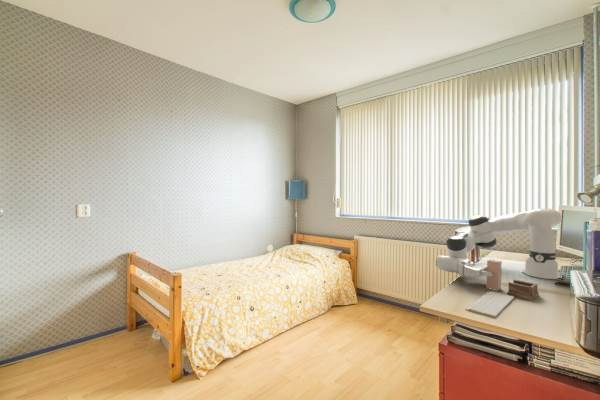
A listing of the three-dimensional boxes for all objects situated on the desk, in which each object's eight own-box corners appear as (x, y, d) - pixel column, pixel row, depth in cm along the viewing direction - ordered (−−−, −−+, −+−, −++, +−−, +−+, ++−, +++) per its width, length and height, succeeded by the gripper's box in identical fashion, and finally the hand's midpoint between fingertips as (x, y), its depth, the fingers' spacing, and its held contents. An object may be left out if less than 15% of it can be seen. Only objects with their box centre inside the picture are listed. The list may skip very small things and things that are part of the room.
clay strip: (489, 286, 151) (490, 259, 151) (500, 288, 147) (501, 261, 147) (486, 287, 148) (487, 260, 148) (497, 290, 145) (498, 262, 144)
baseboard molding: (461, 310, 122) (495, 319, 113) (461, 303, 122) (495, 312, 113) (484, 292, 143) (514, 299, 134) (484, 286, 143) (514, 293, 134)
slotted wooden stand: (515, 289, 146) (515, 278, 146) (538, 294, 139) (538, 283, 139) (506, 295, 138) (507, 283, 138) (530, 301, 131) (530, 288, 131)
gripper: (474, 269, 164) (503, 275, 153) (458, 276, 151) (488, 282, 141) (474, 258, 164) (503, 263, 153) (458, 264, 151) (488, 269, 140)
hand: (496, 272), depth 147 cm, fingers open, 8 cm apart
